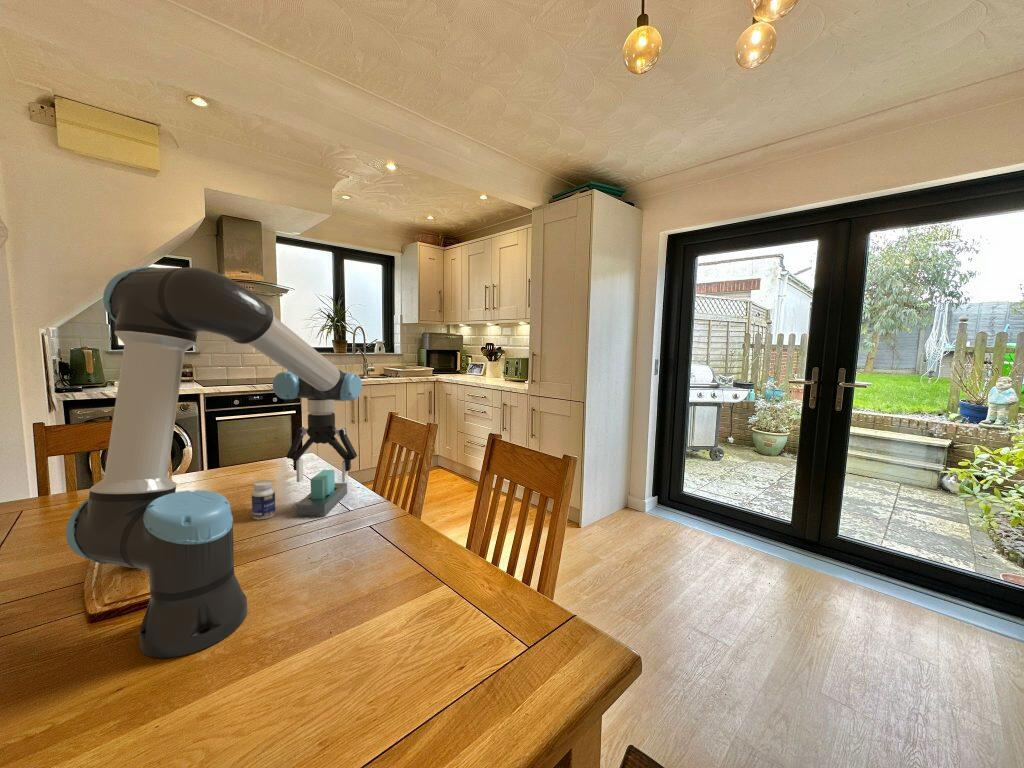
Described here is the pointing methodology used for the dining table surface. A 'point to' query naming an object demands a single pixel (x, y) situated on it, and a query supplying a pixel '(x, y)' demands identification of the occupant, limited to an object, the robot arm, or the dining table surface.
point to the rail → (321, 503)
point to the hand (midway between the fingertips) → (322, 480)
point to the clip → (322, 484)
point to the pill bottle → (263, 500)
